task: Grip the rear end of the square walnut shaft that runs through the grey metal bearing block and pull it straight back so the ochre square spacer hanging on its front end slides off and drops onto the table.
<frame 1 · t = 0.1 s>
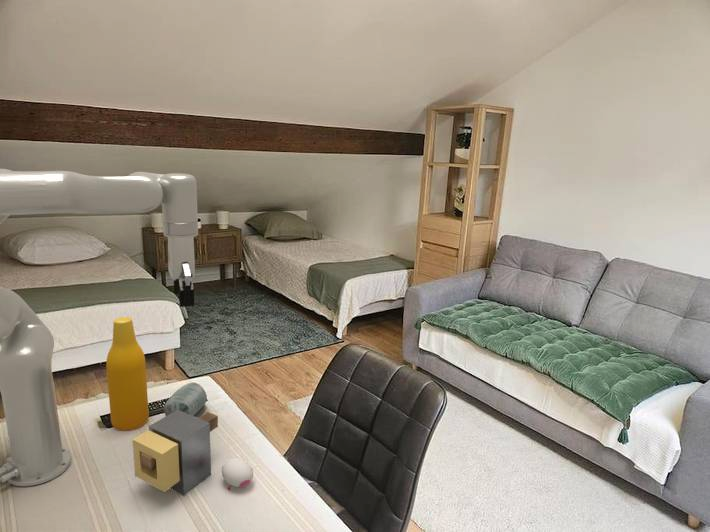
hand: (184, 299, 116), 37 cm above the table, fingers open, 9 cm apart
shaft: (182, 439, 109), point 9 cm above the table, slide at 0.0 cm, touching spacer
beer bottle: (130, 422, 130), on the table
bearing block: (181, 476, 111), on the table
spool: (186, 416, 134), on the table
spacer: (157, 478, 104), point 4 cm above the table, touching shaft
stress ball: (239, 482, 110), on the table
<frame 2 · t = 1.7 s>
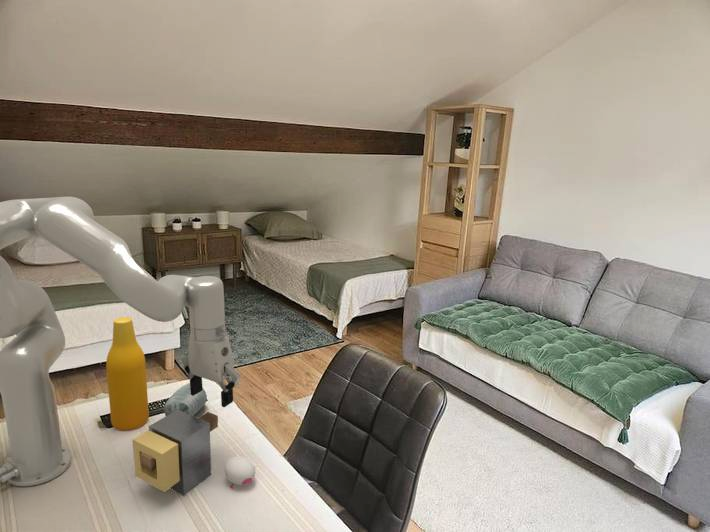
hand: (211, 398, 114), 16 cm above the table, fingers open, 9 cm apart
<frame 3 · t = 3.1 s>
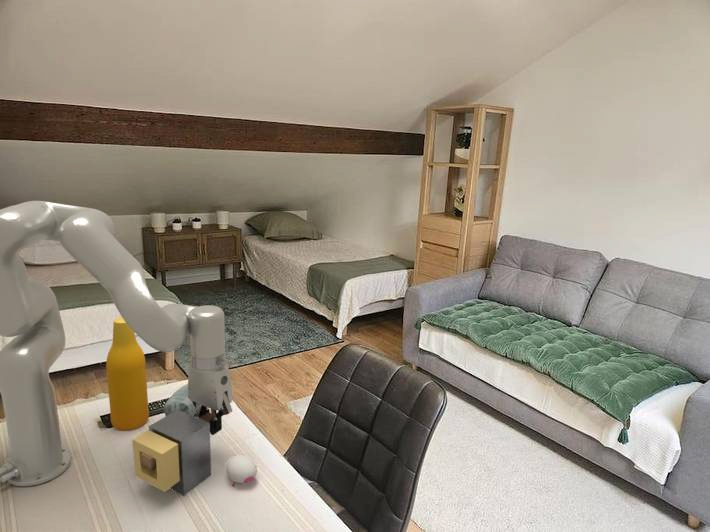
hand: (210, 428, 116), 7 cm above the table, fingers closed on shaft, 3 cm apart
shaft: (182, 439, 109), point 9 cm above the table, slide at 0.0 cm, touching gripper, spacer
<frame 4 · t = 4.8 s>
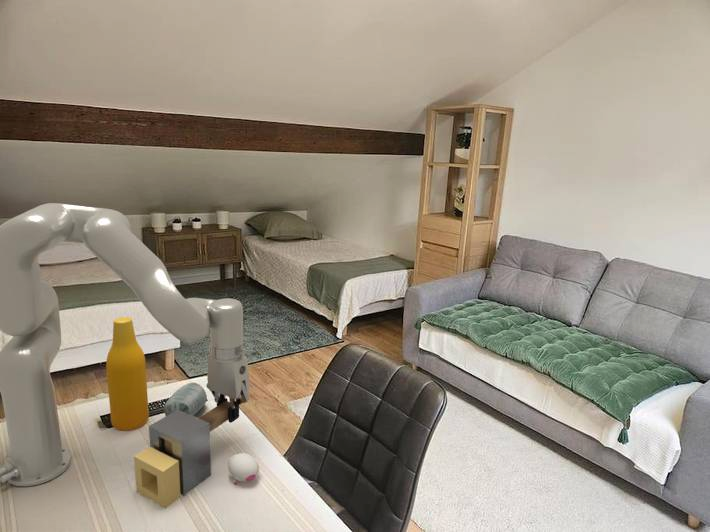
hand: (228, 416, 122), 7 cm above the table, fingers closed on shaft, 3 cm apart
shaft: (202, 426, 114), point 9 cm above the table, slide at 6.1 cm, touching gripper
spacer: (158, 494, 105), on the table
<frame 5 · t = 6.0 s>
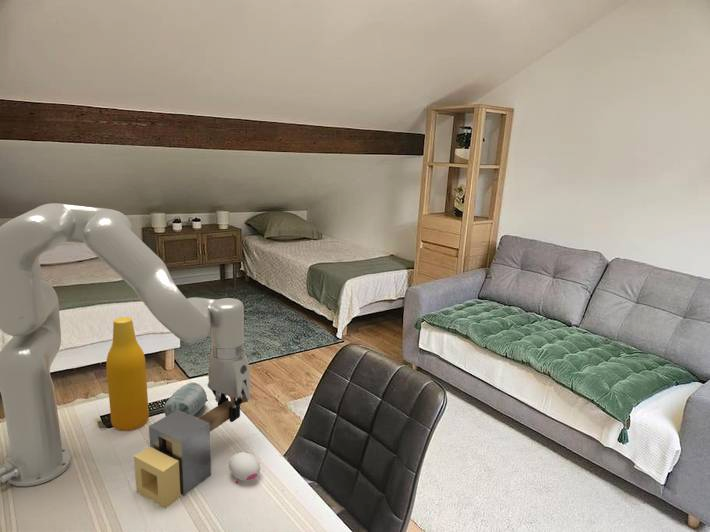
hand: (229, 416, 122), 7 cm above the table, fingers closed on shaft, 3 cm apart
shaft: (203, 425, 114), point 9 cm above the table, slide at 6.4 cm, touching gripper
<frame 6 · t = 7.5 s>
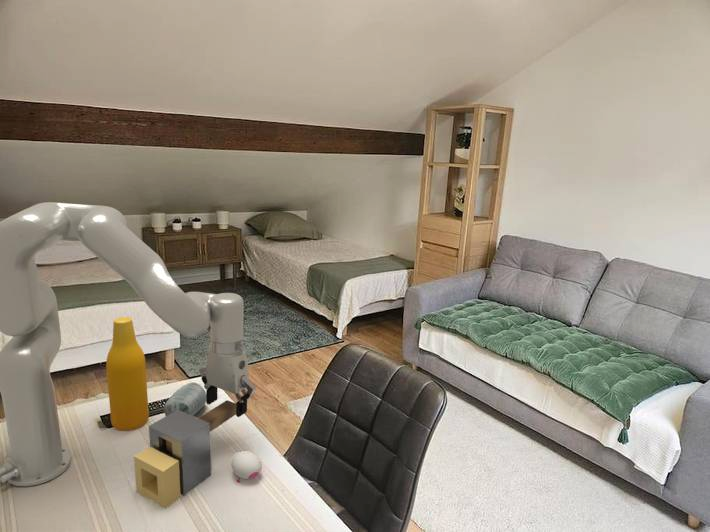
hand: (226, 408, 121), 10 cm above the table, fingers open, 9 cm apart
shaft: (203, 425, 114), point 9 cm above the table, slide at 6.4 cm
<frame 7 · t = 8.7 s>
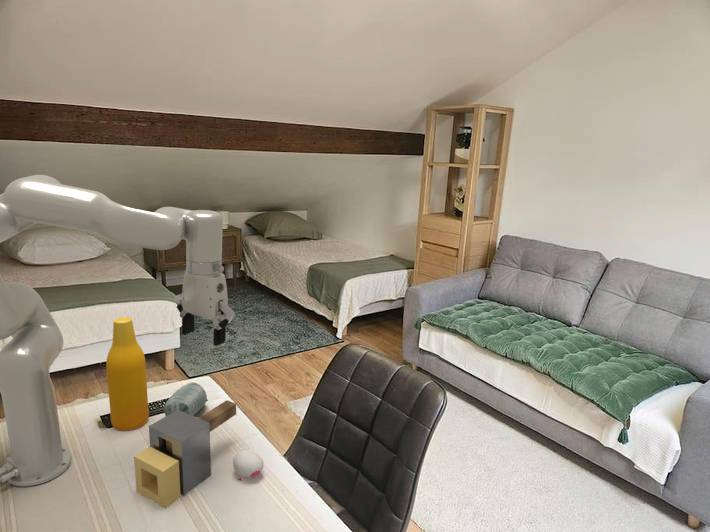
hand: (203, 338, 112), 30 cm above the table, fingers open, 9 cm apart
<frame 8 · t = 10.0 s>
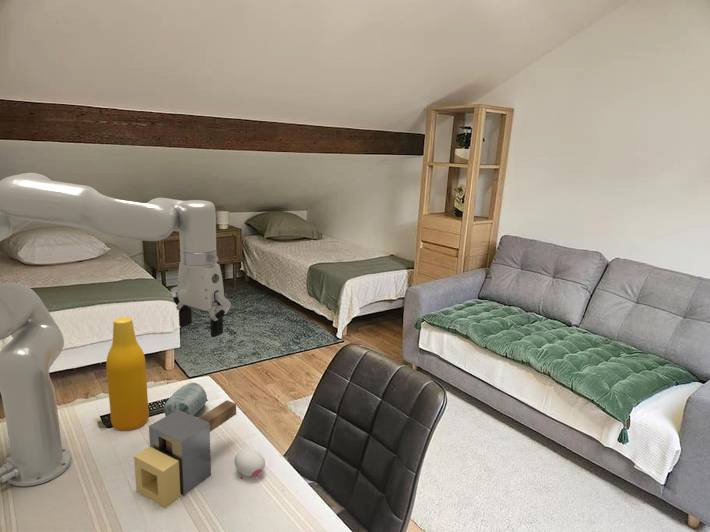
hand: (201, 330, 111), 32 cm above the table, fingers open, 9 cm apart
at the end: shaft slide at 6.4 cm; spacer inside the target area (1.5 cm from its centre), on the table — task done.
